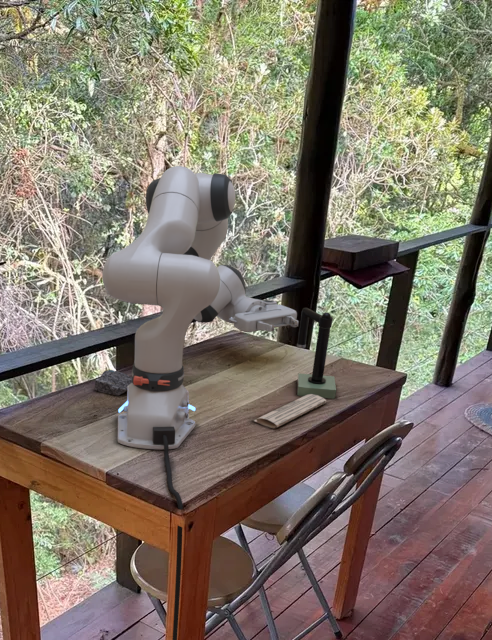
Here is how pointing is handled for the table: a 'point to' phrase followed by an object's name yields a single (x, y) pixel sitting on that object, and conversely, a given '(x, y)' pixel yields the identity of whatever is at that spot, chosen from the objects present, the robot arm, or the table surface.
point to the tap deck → (316, 386)
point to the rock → (113, 382)
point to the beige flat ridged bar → (290, 411)
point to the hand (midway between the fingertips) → (284, 326)
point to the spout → (323, 321)
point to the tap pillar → (320, 356)
